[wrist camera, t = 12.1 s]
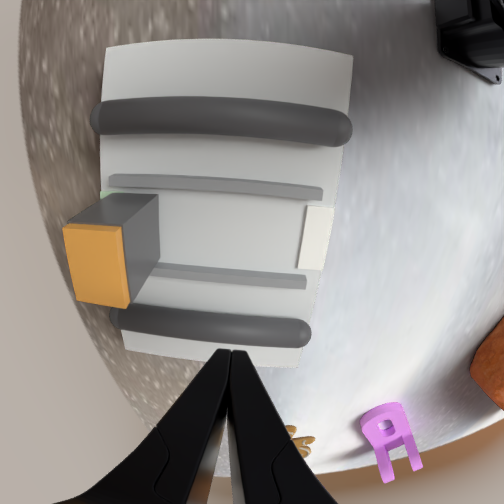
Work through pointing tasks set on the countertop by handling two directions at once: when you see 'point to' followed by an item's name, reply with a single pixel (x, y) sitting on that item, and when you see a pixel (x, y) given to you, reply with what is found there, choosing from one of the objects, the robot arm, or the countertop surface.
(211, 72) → the panel
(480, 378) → the bread
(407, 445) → the bracket
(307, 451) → the cookie
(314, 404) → the countertop surface
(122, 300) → the toggle
